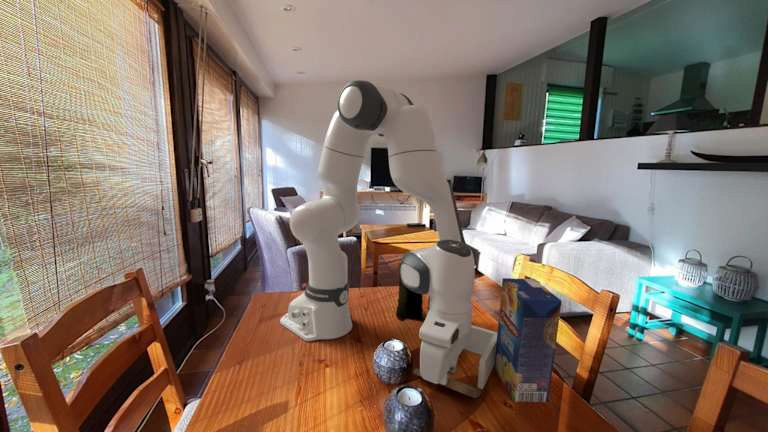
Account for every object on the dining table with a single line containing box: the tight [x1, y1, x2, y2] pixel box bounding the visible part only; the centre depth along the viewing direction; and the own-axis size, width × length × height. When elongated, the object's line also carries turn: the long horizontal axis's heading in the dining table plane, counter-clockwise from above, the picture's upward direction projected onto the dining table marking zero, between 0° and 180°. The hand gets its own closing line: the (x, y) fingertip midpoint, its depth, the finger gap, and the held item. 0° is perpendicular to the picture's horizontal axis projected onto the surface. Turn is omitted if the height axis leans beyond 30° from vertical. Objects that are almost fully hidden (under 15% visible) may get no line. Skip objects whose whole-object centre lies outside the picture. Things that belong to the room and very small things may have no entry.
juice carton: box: [493, 277, 563, 403], centre depth 74 cm, size 12×8×24 cm, turn 1°
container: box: [395, 261, 424, 322], centre depth 107 cm, size 9×9×18 cm
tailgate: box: [412, 367, 483, 399], centre depth 74 cm, size 14×1×7 cm
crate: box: [463, 324, 497, 390], centre depth 82 cm, size 14×14×8 cm
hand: (447, 377), depth 73 cm, fingers open, 3 cm apart
